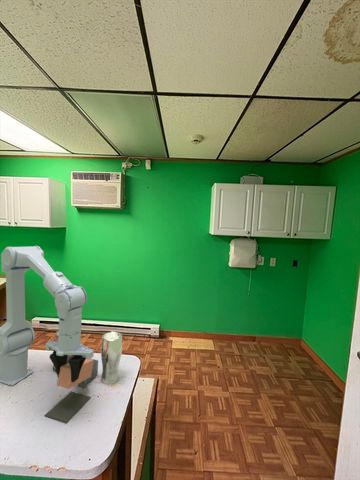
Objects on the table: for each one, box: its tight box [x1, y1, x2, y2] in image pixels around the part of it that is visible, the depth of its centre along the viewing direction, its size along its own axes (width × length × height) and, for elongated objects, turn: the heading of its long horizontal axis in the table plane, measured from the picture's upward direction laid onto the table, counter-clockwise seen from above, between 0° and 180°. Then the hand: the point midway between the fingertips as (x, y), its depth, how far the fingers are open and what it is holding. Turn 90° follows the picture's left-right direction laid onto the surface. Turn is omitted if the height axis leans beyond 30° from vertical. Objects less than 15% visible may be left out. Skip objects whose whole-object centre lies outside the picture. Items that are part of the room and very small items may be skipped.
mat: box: [44, 391, 92, 424], centre depth 68 cm, size 7×10×1 cm
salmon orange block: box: [56, 358, 95, 390], centre depth 70 cm, size 4×10×5 cm, turn 164°
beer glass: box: [100, 331, 123, 385], centre depth 81 cm, size 7×7×15 cm
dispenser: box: [66, 355, 99, 389], centre depth 80 cm, size 10×7×6 cm
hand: (68, 378), depth 67 cm, fingers closed on salmon orange block, 4 cm apart
